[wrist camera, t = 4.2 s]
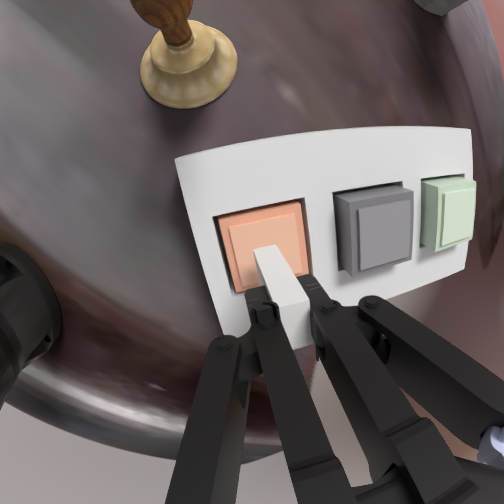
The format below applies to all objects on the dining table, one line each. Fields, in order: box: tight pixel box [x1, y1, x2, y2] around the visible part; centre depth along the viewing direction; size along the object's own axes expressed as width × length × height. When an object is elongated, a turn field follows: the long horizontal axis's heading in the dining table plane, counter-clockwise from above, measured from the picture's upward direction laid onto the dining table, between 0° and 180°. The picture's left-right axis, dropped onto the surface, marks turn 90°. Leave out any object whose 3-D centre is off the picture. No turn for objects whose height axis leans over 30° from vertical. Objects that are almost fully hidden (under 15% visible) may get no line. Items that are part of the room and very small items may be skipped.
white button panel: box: [175, 126, 473, 338], centre depth 23 cm, size 28×16×5 cm, turn 101°
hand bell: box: [130, 0, 238, 109], centre depth 11 cm, size 8×8×16 cm
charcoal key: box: [332, 184, 414, 277], centre depth 20 cm, size 6×6×3 cm
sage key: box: [420, 176, 476, 252], centre depth 21 cm, size 6×6×3 cm
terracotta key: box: [218, 199, 309, 292], centre depth 22 cm, size 6×6×3 cm
